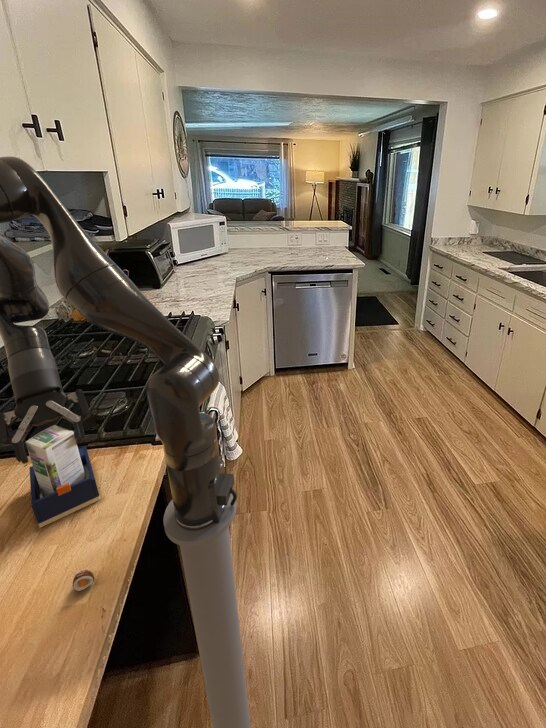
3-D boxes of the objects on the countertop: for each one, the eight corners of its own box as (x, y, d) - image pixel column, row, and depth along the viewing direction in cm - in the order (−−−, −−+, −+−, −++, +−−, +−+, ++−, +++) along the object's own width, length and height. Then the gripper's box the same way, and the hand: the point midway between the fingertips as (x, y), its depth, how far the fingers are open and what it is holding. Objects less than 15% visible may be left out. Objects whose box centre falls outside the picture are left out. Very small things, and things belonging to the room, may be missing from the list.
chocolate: (97, 573, 60) (92, 557, 58) (95, 586, 58) (90, 569, 56) (76, 581, 58) (70, 564, 57) (73, 595, 57) (67, 578, 55)
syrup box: (42, 500, 72) (22, 442, 67) (70, 478, 77) (53, 423, 72) (62, 509, 70) (43, 450, 65) (90, 485, 75) (74, 429, 70)
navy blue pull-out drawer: (101, 501, 73) (93, 474, 70) (39, 530, 67) (29, 501, 64) (91, 464, 82) (84, 439, 79) (36, 487, 76) (27, 460, 73)
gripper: (-17, 381, 65) (0, 467, 61) (75, 358, 74) (96, 432, 70) (-7, 393, 71) (9, 472, 67) (77, 370, 80) (97, 439, 75)
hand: (53, 452), depth 68 cm, fingers open, 8 cm apart
